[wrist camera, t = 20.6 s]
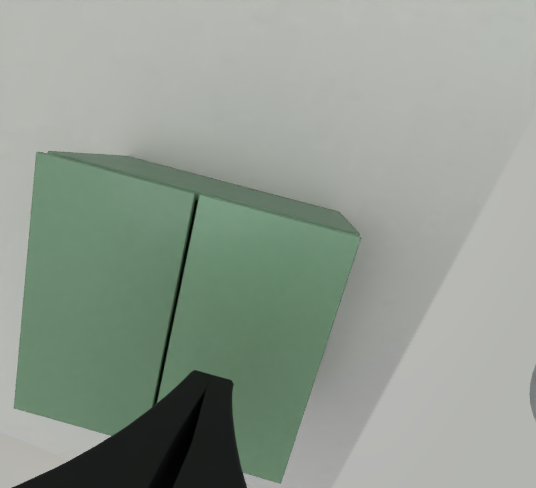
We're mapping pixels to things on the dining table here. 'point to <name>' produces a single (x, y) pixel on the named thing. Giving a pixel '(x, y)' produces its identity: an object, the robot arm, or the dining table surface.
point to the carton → (112, 281)
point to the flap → (258, 319)
